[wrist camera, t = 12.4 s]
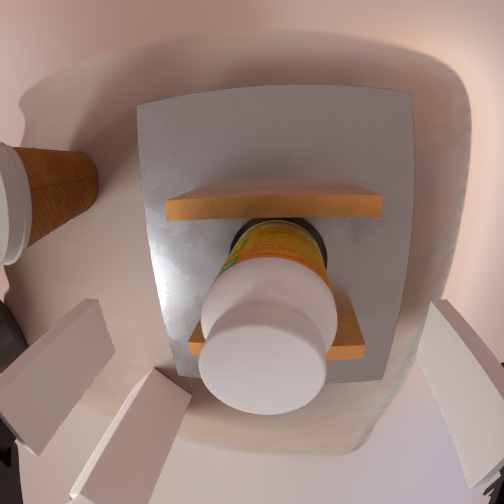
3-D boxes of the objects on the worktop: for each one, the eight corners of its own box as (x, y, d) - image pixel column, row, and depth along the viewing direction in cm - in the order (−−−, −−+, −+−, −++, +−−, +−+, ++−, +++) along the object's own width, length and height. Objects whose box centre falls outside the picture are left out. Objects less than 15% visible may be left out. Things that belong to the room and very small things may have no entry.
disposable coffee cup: (44, 212, 26) (-36, 244, 14) (57, 130, 22) (-34, 136, 11) (102, 241, 26) (16, 292, 14) (121, 147, 22) (18, 154, 11)
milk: (170, 410, 33) (110, 542, 12) (134, 384, 32) (57, 513, 12) (193, 394, 31) (130, 551, 10) (153, 365, 30) (65, 518, 9)
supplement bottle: (243, 207, 16) (184, 276, 7) (333, 232, 16) (380, 327, 7) (225, 289, 18) (171, 403, 9) (306, 310, 18) (311, 436, 9)
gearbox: (197, 336, 28) (162, 408, 18) (172, 115, 21) (99, 97, 11) (368, 338, 25) (392, 415, 16) (381, 106, 18) (440, 78, 9)
